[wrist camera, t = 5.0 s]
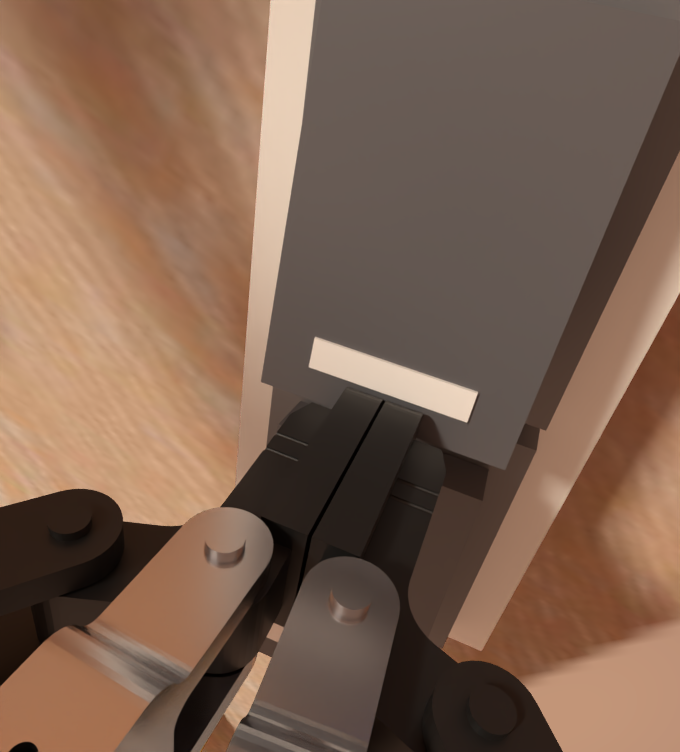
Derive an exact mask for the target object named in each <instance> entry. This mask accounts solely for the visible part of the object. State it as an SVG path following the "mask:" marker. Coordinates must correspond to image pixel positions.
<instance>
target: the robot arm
mask: <svg viewBox="0 0 680 752" xmlns="http://www.w3.org/2000/svg"><path fill="white" fill-rule="evenodd" d="M422 418H423V413H420V412H418V411H415V410H412V409H409V408H406V407H404V406H401V405H398V404H395V403H393V402H390V401H386V402H385V403H384V399H381V398H378V397H375V396H373V395H370V394H367V393H364V392H361V391H359V390H356V389H353V388H350V387H346V388H345V390H344V391H343V393H342V394H341V396H340V397H339V399H338V400H337V402H336V403H335V405H334V406H333V408H332V409H329V408H326V407H323V406H321V405H318V404H315V403H313V402H312V403H310V404H308V405H306V406H304V407H302V408H300V409H299V410H297V411H295V412H293V413H291V414H290V415H289V416H288V418H287V419H286V420H285V422H284V423H283V424H282V426H281V427H280V428H279V430H278V431H277V434H276V435H274V436H273V438H272V439H271V440H270V442H269V443H268V444H267V446H266V449H265V450H263V451H262V452H261V454H260V455H259V456H258V458H257V459H256V460H255V462H254V463H253V464H252V466H251V467H250V469H249V470H248V471H247V473H246V474H245V475H244V477H243V478H242V479H241V481H240V482H239V483H238V485H237V486H236V487H235V489H234V490H233V491H232V493H231V494H230V495H229V497H228V498H227V499H226V501H225V502H224V503H223V504H222V506H221V507H219V508H213V509H209V510H206V511H203V512H201V513H199V514H197V515H195V516H193V517H192V518H190V519H189V520H188V521H187V522H186V523H185V524H184V525H182V526H158V525H149V524H141V523H132V522H123V516H122V512H121V510H120V508H119V506H118V504H117V503H116V502H115V501H114V500H113V499H111V498H110V497H109V496H107V495H105V494H103V493H101V492H97V491H94V490H88V489H71V490H65V491H60V492H56V493H53V494H49V495H45V496H41V497H38V498H34V499H30V500H26V501H23V502H19V503H15V504H11V505H8V506H4V507H0V752H200V751H201V749H202V748H203V746H204V745H205V743H206V741H207V740H208V738H209V737H210V735H211V733H212V732H213V730H214V729H215V727H216V725H217V724H218V722H219V721H220V719H221V717H222V716H223V714H224V713H225V711H226V709H227V708H228V706H229V705H230V703H231V701H232V700H233V698H234V697H235V695H236V693H237V692H238V690H239V689H240V687H241V685H242V684H243V682H244V681H245V679H246V677H247V676H248V674H249V673H250V671H251V669H252V667H253V665H254V663H255V661H256V657H257V653H258V652H259V650H260V648H261V646H262V644H263V642H264V641H265V639H266V637H267V635H268V633H269V631H270V629H271V627H272V625H273V623H275V624H277V625H280V626H282V627H284V629H283V631H282V634H281V636H280V639H279V641H278V644H277V646H276V648H275V651H274V653H273V656H272V658H271V661H270V663H269V665H268V668H267V670H266V673H265V675H264V678H263V680H262V683H261V685H260V687H259V690H258V692H257V695H256V697H255V700H254V702H253V704H252V706H251V709H250V711H249V713H248V714H247V716H246V717H244V718H243V719H242V720H241V722H240V723H239V725H238V727H237V729H236V731H235V733H234V735H233V737H232V739H231V741H230V743H229V746H228V748H227V750H226V752H563V751H562V750H561V748H560V746H559V744H558V742H557V740H556V738H555V737H554V735H553V733H552V731H551V729H550V727H549V725H548V723H547V722H546V720H545V718H544V716H543V714H542V712H541V710H540V708H539V707H538V705H537V703H536V701H535V700H534V698H533V696H532V695H531V693H530V692H529V691H528V690H527V688H526V687H525V686H524V685H523V684H522V683H521V682H520V681H519V680H518V679H517V678H516V677H514V676H513V675H512V674H510V673H509V672H508V671H506V670H504V669H502V668H500V667H498V666H496V665H493V664H491V663H487V662H482V661H466V662H461V663H457V662H455V661H454V660H453V659H452V658H451V657H449V656H448V655H447V654H446V653H445V652H443V651H442V650H441V649H440V648H439V647H437V646H436V645H435V644H434V643H433V642H432V641H431V640H430V639H429V638H427V636H426V635H425V634H424V633H423V632H422V630H421V629H420V628H419V626H418V624H417V623H416V621H415V619H414V617H413V615H412V612H411V609H410V606H409V600H408V587H409V583H410V579H411V576H412V573H413V570H414V567H415V564H416V561H417V559H418V556H419V553H420V550H421V547H422V544H423V541H424V538H425V535H426V532H427V529H428V526H429V523H430V520H431V517H432V514H433V511H434V508H435V505H436V502H437V499H438V496H439V493H440V490H441V487H442V484H443V481H444V478H445V475H446V468H445V463H444V459H443V454H442V450H441V449H438V448H435V447H433V446H430V445H427V444H424V443H422V442H419V441H416V437H417V434H418V431H419V428H420V425H421V421H422Z"/></svg>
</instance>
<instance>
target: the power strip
mask: <svg viewBox="0 0 680 752" xmlns="http://www.w3.org/2000/svg"><path fill="white" fill-rule="evenodd" d="M581 1H586V2H590V3H595V4H600V5H605V6H610V7H615V8H620V9H625V10H629V11H634V12H639V13H644V14H649V15H654V16H659V17H664V18H668V19H673V20H678V21H680V0H581ZM321 2H322V0H271V1H270V15H269V29H268V43H267V56H266V70H265V84H264V98H263V111H262V125H261V139H260V153H259V166H258V180H257V194H256V207H255V221H254V235H253V249H252V262H251V276H250V290H249V304H248V317H247V331H246V345H245V359H244V372H243V386H242V400H241V414H240V427H239V441H238V455H237V469H236V482H235V487H236V486H237V485H238V483H239V482H240V481H241V479H242V478H243V477H244V475H245V474H246V473H247V471H248V470H249V469H250V467H251V466H252V464H253V463H254V462H255V460H256V459H257V458H258V456H259V455H260V454H261V452H262V451H263V450H265V449H266V446H267V444H268V443H269V442H270V440H271V439H272V438H273V436H274V435H276V431H277V427H278V424H279V423H280V422H281V421H282V420H283V419H284V418H285V417H286V415H287V414H288V413H289V412H290V411H291V410H292V409H293V408H294V407H295V406H296V405H297V404H298V403H299V402H300V401H302V402H305V403H307V404H310V403H312V402H313V403H315V404H318V405H321V406H323V407H326V408H329V409H332V408H331V407H328V406H326V405H323V404H320V403H317V402H315V401H312V400H309V399H306V398H304V397H301V396H298V395H295V394H292V393H290V392H287V391H284V390H281V389H279V388H276V387H273V386H270V385H268V384H265V383H262V382H261V377H262V371H263V365H264V358H265V352H266V346H267V340H268V333H269V327H270V321H271V315H272V308H273V302H274V296H275V290H276V283H277V277H278V271H279V265H280V258H281V252H282V246H283V239H284V233H285V227H286V221H287V214H288V208H289V202H290V196H291V189H292V183H293V177H294V171H295V164H296V158H297V152H298V146H299V139H300V133H301V127H302V121H303V114H304V108H305V102H306V96H307V89H308V83H309V77H310V70H311V64H312V58H313V52H314V45H315V39H316V33H317V27H318V20H319V14H320V8H321ZM679 293H680V55H679V57H678V60H677V62H676V64H675V67H674V69H673V72H672V74H671V76H670V79H669V81H668V84H667V86H666V88H665V91H664V93H663V95H662V98H661V100H660V103H659V105H658V107H657V110H656V112H655V114H654V117H653V119H652V122H651V124H650V126H649V129H648V131H647V134H646V136H645V138H644V141H643V143H642V145H641V148H640V150H639V153H638V155H637V157H636V160H635V162H634V164H633V167H632V169H631V172H630V174H629V176H628V179H627V181H626V184H625V186H624V188H623V191H622V193H621V195H620V198H619V200H618V203H617V205H616V207H615V210H614V212H613V214H612V217H611V219H610V222H609V224H608V226H607V229H606V231H605V234H604V236H603V238H602V241H601V243H600V245H599V248H598V250H597V253H596V255H595V257H594V260H593V262H592V264H591V267H590V269H589V272H588V274H587V276H586V279H585V281H584V284H583V286H582V288H581V291H580V293H579V295H578V298H577V300H576V303H575V305H574V307H573V310H572V312H571V315H570V317H569V319H568V322H567V324H566V326H565V329H564V331H563V334H562V336H561V338H560V341H559V343H558V345H557V348H556V350H555V353H554V355H553V357H552V360H551V362H550V365H549V367H548V369H547V372H546V374H545V376H544V379H543V381H542V384H541V386H540V388H539V391H538V393H537V395H536V398H535V400H534V403H533V405H532V407H531V410H530V412H529V415H528V417H527V419H526V422H525V424H524V426H523V429H522V431H521V434H520V436H519V438H518V441H517V443H516V445H515V448H514V450H513V453H512V455H511V457H510V460H509V462H508V465H507V467H506V469H505V470H502V469H500V468H497V467H494V466H491V465H489V464H486V463H483V462H480V461H478V460H475V459H472V458H469V457H467V456H464V455H461V454H458V453H456V452H453V451H450V450H447V449H444V448H442V447H439V446H436V445H433V444H431V443H428V442H425V441H422V440H420V439H417V438H416V441H419V442H422V443H424V444H427V445H430V446H433V447H435V448H438V449H441V450H442V453H445V454H448V455H451V456H453V457H456V458H459V459H462V460H464V461H467V462H470V463H473V464H475V465H478V466H481V467H484V468H486V469H489V471H488V476H487V481H486V486H485V492H484V497H483V502H482V504H481V507H480V509H479V512H478V514H477V517H476V519H475V522H474V524H473V527H472V529H471V532H470V534H469V537H468V539H467V542H466V544H465V547H464V549H463V552H462V554H461V557H460V559H459V562H458V564H457V567H456V569H455V572H454V574H453V577H452V579H451V582H450V584H449V587H448V589H447V592H446V594H445V597H444V599H443V602H442V604H441V607H440V609H439V612H438V614H437V617H436V619H435V622H434V624H433V627H432V629H431V632H430V634H429V637H428V638H429V639H430V640H431V641H432V642H433V643H434V644H435V645H436V646H437V647H439V648H443V646H444V644H445V642H446V639H447V637H449V638H451V639H454V640H456V641H458V642H461V643H463V644H465V645H468V646H470V647H472V648H475V649H477V650H480V651H482V650H483V648H484V646H485V644H486V642H487V641H488V639H489V637H490V635H491V633H492V631H493V630H494V628H495V626H496V624H497V622H498V621H499V619H500V617H501V615H502V613H503V612H504V610H505V608H506V606H507V604H508V603H509V601H510V599H511V597H512V595H513V593H514V592H515V590H516V588H517V586H518V584H519V583H520V581H521V579H522V577H523V575H524V574H525V572H526V570H527V568H528V566H529V565H530V563H531V561H532V559H533V557H534V556H535V554H536V552H537V550H538V548H539V546H540V545H541V543H542V541H543V539H544V537H545V536H546V534H547V532H548V530H549V528H550V527H551V525H552V523H553V521H554V519H555V518H556V516H557V514H558V512H559V510H560V509H561V507H562V505H563V503H564V501H565V499H566V498H567V496H568V494H569V492H570V490H571V489H572V487H573V485H574V483H575V481H576V480H577V478H578V476H579V474H580V472H581V471H582V469H583V467H584V465H585V463H586V462H587V460H588V458H589V456H590V454H591V452H592V451H593V449H594V447H595V445H596V443H597V442H598V440H599V438H600V436H601V434H602V433H603V431H604V429H605V427H606V425H607V424H608V422H609V420H610V418H611V416H612V415H613V413H614V411H615V409H616V407H617V405H618V404H619V402H620V400H621V398H622V396H623V395H624V393H625V391H626V389H627V387H628V386H629V384H630V382H631V380H632V378H633V377H634V375H635V373H636V371H637V369H638V368H639V366H640V364H641V362H642V360H643V358H644V357H645V355H646V353H647V351H648V349H649V348H650V346H651V344H652V342H653V340H654V339H655V337H656V335H657V333H658V331H659V330H660V328H661V326H662V324H663V322H664V321H665V319H666V317H667V315H668V313H669V311H670V310H671V308H672V306H673V304H674V302H675V301H676V299H677V297H678V295H679Z"/></svg>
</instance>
